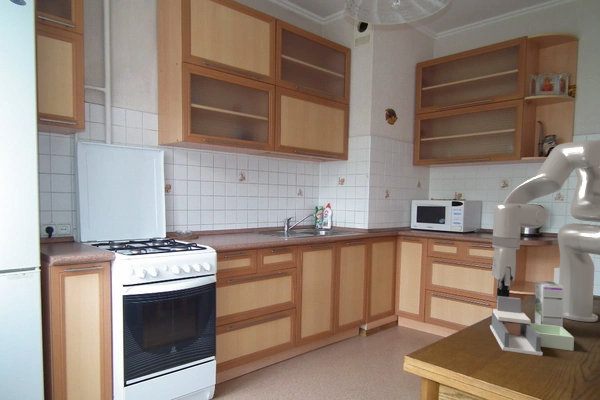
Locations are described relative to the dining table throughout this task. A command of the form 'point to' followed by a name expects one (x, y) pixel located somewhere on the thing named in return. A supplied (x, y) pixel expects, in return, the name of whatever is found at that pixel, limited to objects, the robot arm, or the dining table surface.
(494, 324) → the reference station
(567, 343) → the socket
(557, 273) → the skincare box
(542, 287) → the syrup box
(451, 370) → the dining table surface
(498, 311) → the cover
